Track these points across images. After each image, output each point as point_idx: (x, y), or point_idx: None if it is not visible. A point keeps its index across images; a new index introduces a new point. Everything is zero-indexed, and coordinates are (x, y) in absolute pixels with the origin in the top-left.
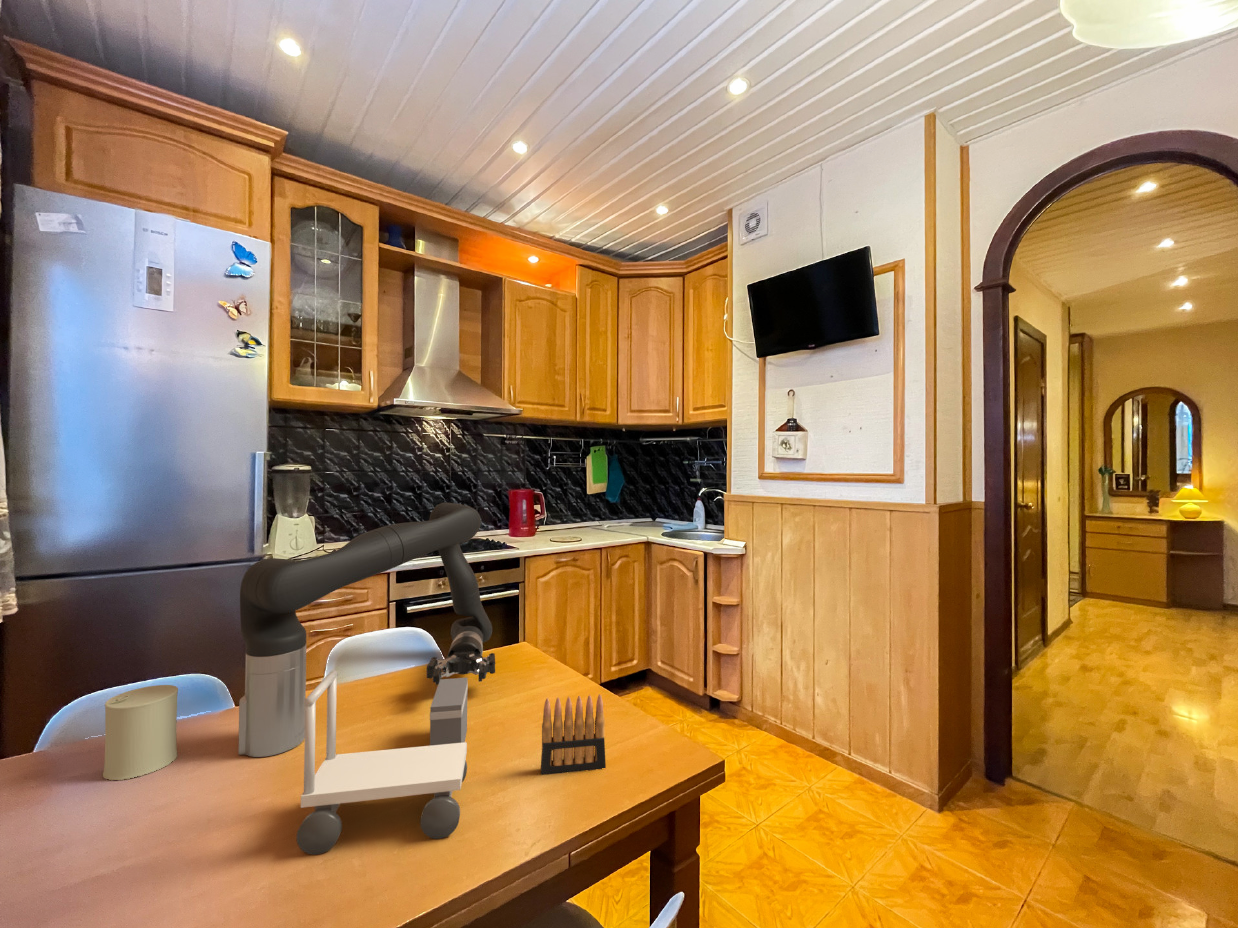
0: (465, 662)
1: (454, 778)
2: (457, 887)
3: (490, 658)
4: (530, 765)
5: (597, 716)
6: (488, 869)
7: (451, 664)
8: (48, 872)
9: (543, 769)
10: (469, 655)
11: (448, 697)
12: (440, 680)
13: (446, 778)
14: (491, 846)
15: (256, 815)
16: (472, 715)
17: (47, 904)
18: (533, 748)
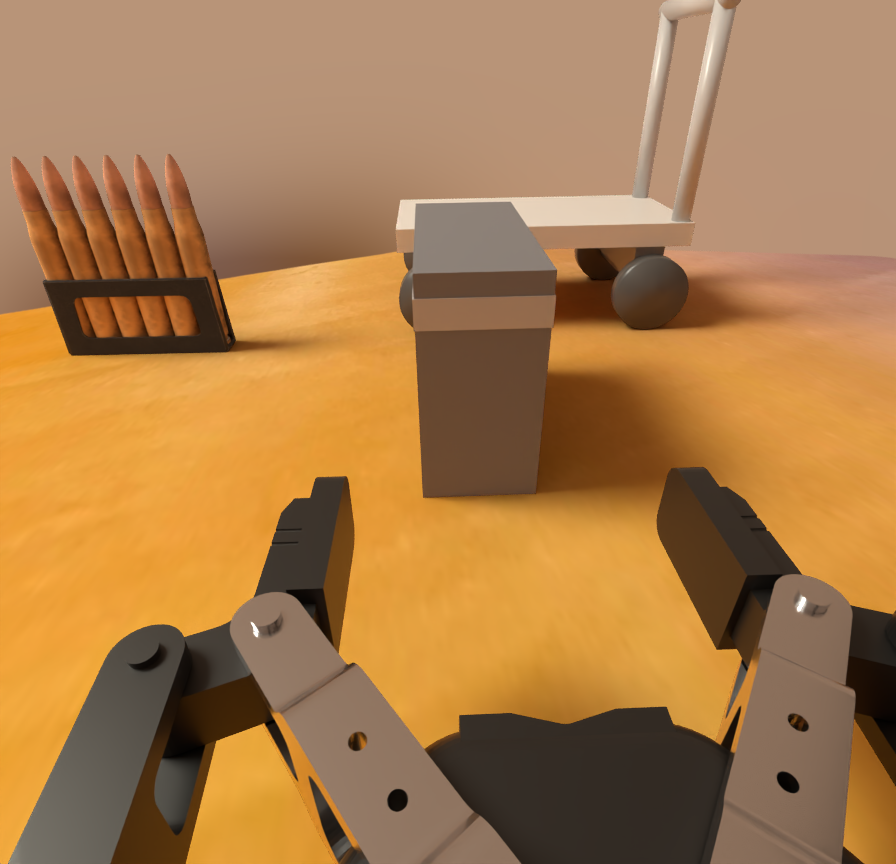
0: (514, 719)
1: (410, 200)
2: (401, 253)
3: (118, 794)
4: (247, 359)
5: (50, 218)
6: (365, 260)
7: (716, 743)
8: None
9: (228, 329)
10: (477, 824)
11: (467, 217)
12: (550, 266)
13: (424, 200)
14: (359, 272)
15: (783, 313)
16: (406, 604)
17: (873, 260)
18: (210, 400)
